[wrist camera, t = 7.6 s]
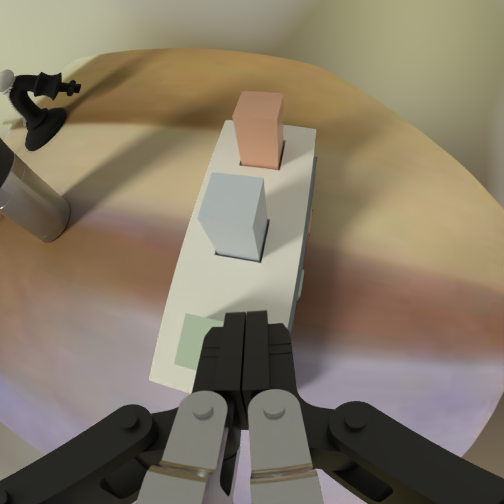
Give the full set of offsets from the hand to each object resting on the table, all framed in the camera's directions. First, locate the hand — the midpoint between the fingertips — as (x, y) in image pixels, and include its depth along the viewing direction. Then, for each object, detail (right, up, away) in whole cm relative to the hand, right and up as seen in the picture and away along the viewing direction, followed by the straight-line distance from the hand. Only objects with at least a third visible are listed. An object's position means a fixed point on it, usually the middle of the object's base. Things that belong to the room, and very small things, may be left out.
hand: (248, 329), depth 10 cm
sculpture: (-53, +39, +47) cm, 81 cm away
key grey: (-1, +4, +24) cm, 25 cm away
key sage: (-3, -9, +23) cm, 25 cm away
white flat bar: (0, +3, +29) cm, 29 cm away
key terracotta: (+2, +16, +28) cm, 33 cm away
